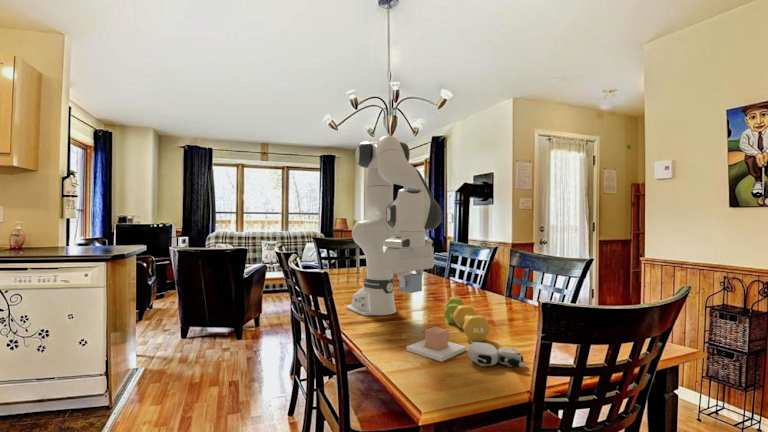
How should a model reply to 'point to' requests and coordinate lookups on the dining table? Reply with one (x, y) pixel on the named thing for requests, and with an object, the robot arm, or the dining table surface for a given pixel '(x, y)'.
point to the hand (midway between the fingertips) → (410, 285)
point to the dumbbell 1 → (452, 308)
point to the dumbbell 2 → (471, 323)
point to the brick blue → (412, 283)
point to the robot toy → (494, 355)
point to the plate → (436, 354)
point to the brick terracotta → (436, 338)
